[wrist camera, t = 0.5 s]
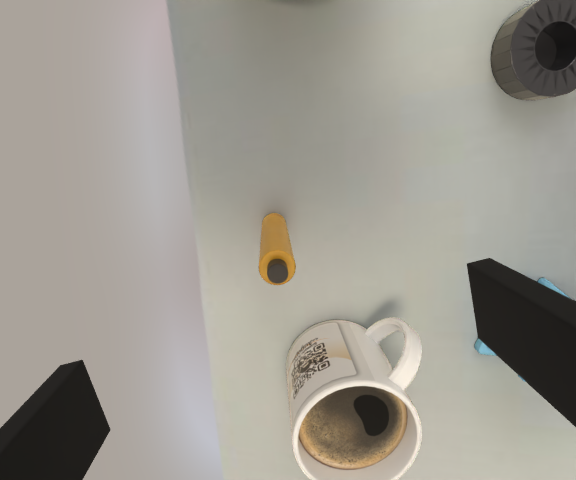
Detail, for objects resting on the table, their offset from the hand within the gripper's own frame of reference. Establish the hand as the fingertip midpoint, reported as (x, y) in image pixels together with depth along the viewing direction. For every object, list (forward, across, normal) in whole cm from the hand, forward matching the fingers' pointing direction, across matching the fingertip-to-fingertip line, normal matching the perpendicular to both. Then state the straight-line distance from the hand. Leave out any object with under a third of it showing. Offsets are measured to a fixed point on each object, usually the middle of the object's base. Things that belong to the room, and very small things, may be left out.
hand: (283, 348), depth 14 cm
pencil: (+25, 0, 0) cm, 25 cm away
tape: (+25, +25, +8) cm, 37 cm away
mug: (+25, +3, -15) cm, 30 cm away
